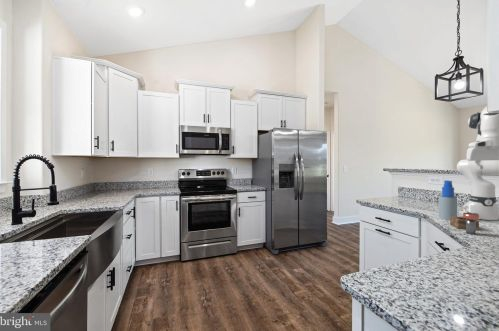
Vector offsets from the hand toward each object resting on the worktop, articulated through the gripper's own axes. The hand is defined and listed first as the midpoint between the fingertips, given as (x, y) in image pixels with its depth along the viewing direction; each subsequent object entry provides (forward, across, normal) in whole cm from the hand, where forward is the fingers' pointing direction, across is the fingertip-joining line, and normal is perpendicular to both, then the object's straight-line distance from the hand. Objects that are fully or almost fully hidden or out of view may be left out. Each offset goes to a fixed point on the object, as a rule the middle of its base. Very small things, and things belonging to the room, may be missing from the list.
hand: (491, 168), depth 120 cm
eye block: (+34, +10, -3) cm, 35 cm away
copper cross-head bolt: (+33, +13, +9) cm, 37 cm away
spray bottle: (+35, +10, -23) cm, 43 cm away
